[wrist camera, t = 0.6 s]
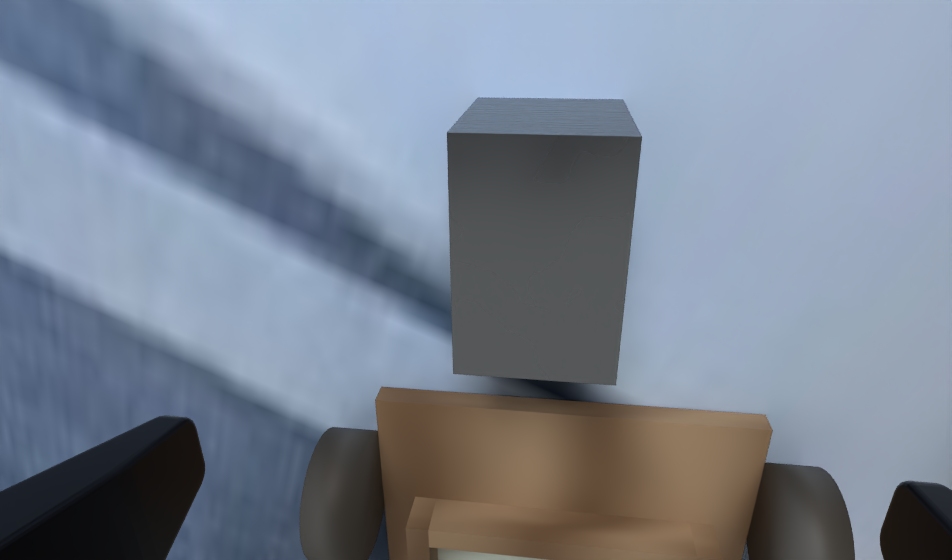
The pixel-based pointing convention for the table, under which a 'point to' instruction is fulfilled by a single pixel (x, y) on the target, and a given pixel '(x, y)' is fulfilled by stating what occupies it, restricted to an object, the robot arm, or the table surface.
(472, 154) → the block
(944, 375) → the table surface
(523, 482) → the chassis
